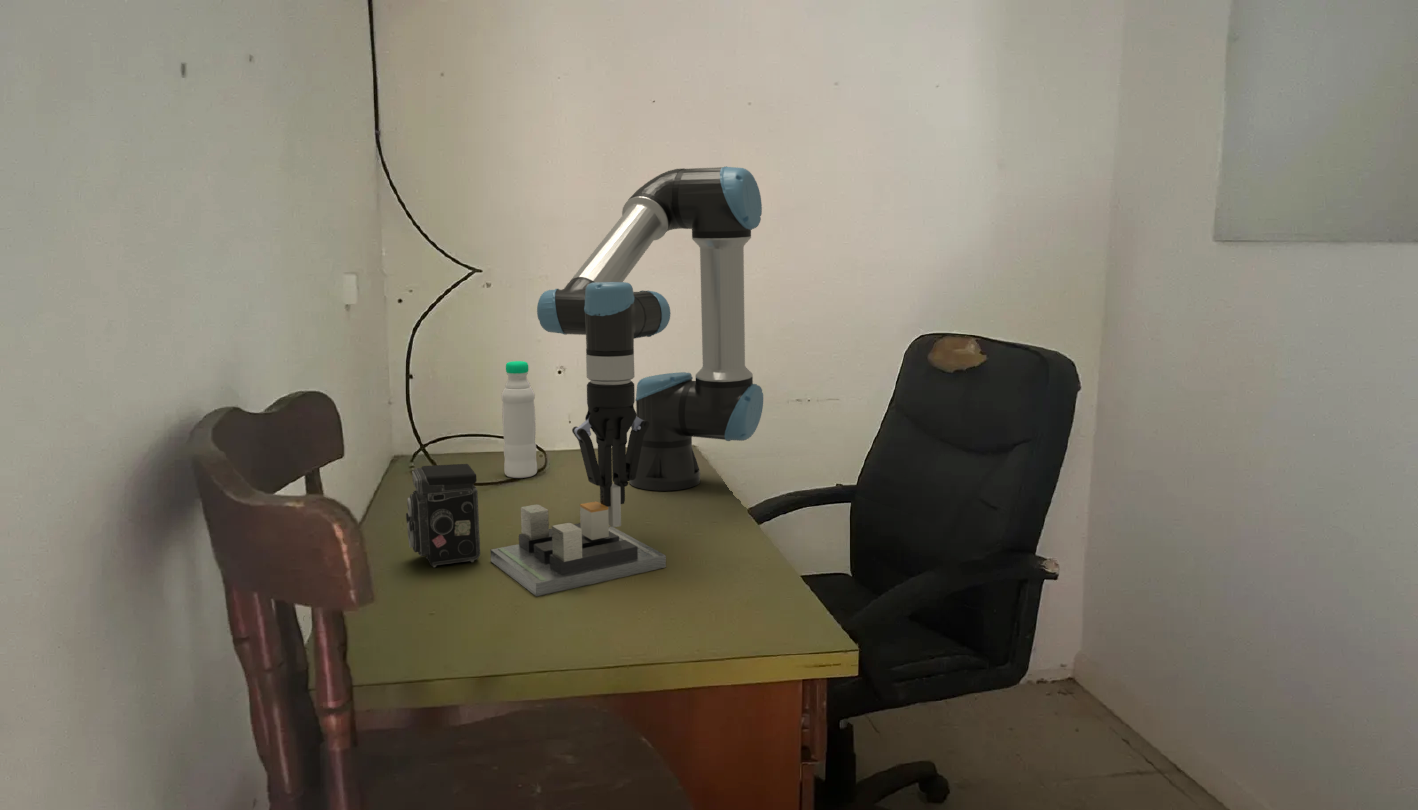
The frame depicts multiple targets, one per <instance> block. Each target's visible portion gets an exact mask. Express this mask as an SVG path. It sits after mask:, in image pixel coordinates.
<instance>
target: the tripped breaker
mask: <svg viewBox="0 0 1418 810" xmlns="http://www.w3.org/2000/svg"><path fill="white" fill-rule="evenodd" d="M579 516H580V517H579V519H580V522H579V523H580V525H581V529H582V535H584V536H586V537H588V538H589V539H591V540H595V539H600V538H605V537H609V527H610V525H609V520H608V507H607V506H605V505H603V504H601V503H600V501H597V500H596V501H590V502H585V503H580V504H579Z"/></svg>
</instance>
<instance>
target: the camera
mask: <svg viewBox="0 0 1418 810" xmlns="http://www.w3.org/2000/svg"><path fill="white" fill-rule="evenodd" d="M411 473H412V475H411V476H412V483H413V487H415V490H413V492H412V493H411V494H410V495H409V497H407V499H406V504H407V512H406V513H405V519H406V524H407V528H406V529H407V540H408V546H409V549H410V548H411V549H412V550H413V552H414V553H418V555H419V556H420V557H425V556H426V557H425V558H426V559H427V561H428V563H429V565H430V567H433V568H436V567H437V566H441V565H449V564H454V563H455V564H458V563H464V562H470V563H474V562H475V560H478V559H479V557H480V555H481V542H480V541H481V540H480V539H481V538H480V536H481V535H480V516H479V514H480V513H479V497H478V496H479V495H478V493H479V492H478V489H477V487H476V485H474V484H476V482H477V474H476V472H475V471H474V470H473V468H472V467H471V466H470V464H468V463H458V464H454V463H453V464H438V465H437V464H435V465H432V464H431V465H422V466H421V467H416V468H415V469H414V470H412V471H411Z"/></svg>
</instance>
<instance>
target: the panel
mask: <svg viewBox="0 0 1418 810" xmlns="http://www.w3.org/2000/svg"><path fill="white" fill-rule="evenodd" d="M520 522H521V526H520V527H521V533H520V534H518V544H513V545H507V546H501V547H497V548H492V549H490V562H491V563H492V564H494V565H495V566H496V567H498V568H499V569H500V570H501V571H503V572H504V573H505V574H506V575H508V576H509V577H510V578H512V579H513V580H514V581H516V582H517V583H518V584H520V585H521V586H522V587H523V588H525V590H527V591H528V592H530V593H531V594H532V595H534V596H535V597H540V596H545V595H549V594H555V593H558V592H562V591H568V590H571V589H576V588H580V587H586V586H590V585H594V584H597V583H603V582H607V581H612V580H616V579H621V578H625V577H630V576H633V575H639V574H642V573H643V574H644V573H646V572H651V571H655V570H660V569H661V570H662V569H664V568H665V569H666V568H667V563H666V561H667V556H666V554H664V553H662V552H660V551H659V550H657V549H655V548H653V547H651V546H649V545H647V544H646V543H644V542H642V541H641V540H638V539H636V538H634V537H632V536H631V535H629V534H627V533H625V532H623V531H621V530H620V529H618V528H616V527H611V526H609V537H605V538H600V539H595V540H591V539H589V538H588V537H586V536H584V535H582V529H581V525H580V522H579V523H571V522H566V523H560V524H555V525H551V528H550V527H549V525H550V524H549V509H547V508H546V507H544V506H542V505H540V504H531V505H525V506H520Z"/></svg>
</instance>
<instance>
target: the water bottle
mask: <svg viewBox="0 0 1418 810" xmlns="http://www.w3.org/2000/svg"><path fill="white" fill-rule="evenodd" d="M505 372H506V375H507V376H508V377H507V378H508V379H507V381H506V383H505V385H504V388H503V390H502V393H501V401H502V409H501V410H502V434H503V435H502V436H503V443H504V444H503V455H504V457H503V458H504V464H503V467H504V468H503V470H504V475H505V476H507V477H508V478H513V479H523V478H524V479H525V478H530V477H533V476H535V475H536V474H537V472H538V463H537V462H538V461H537V445H536V444H537V443H536V433H537V432H536V431H537V428H536V426H537V425H536V409H535V396H536V394H535V392H534V390H533V388H532V387H531V383H530V382H529V380H528V378H527V375H528V373H529V363H528V362H527V361H524V360H514V361H513V360H511V361H508V362H506V364H505Z"/></svg>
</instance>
